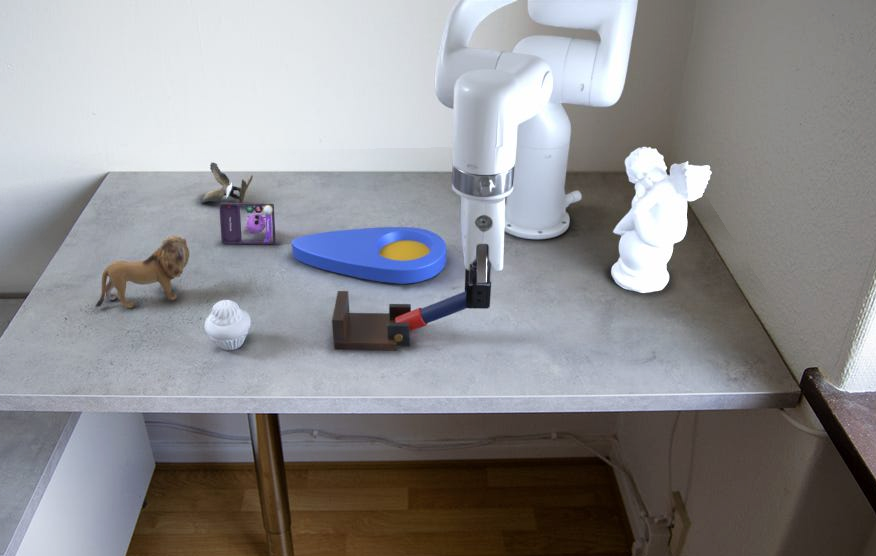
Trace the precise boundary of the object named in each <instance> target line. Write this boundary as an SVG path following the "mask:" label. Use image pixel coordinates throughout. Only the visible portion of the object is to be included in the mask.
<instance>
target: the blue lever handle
mask: <svg viewBox="0 0 876 556" xmlns="http://www.w3.org/2000/svg"><path fill="white" fill-rule="evenodd" d="M463 310H467V308H466V291H465V290H464V291H462V292H460V293H457V294H454V295H452V296H450V297H447V298H445V299H442V300H440V301H437V302H434V303H432V304H430V305H426V306H424V307H418V308H416V309H413V310H411V311H410V312H408V313H405V314H402V315H400V316H397V317H396V318H395V321H396V323H410V332H413V331H416V330H418V329H421V328H423V327H425V326H427V325H428V324H429V323H432V322H434V321H438V320H440V319H442V318H445V317H448V316H450V315H453V314H456V313H458V312H461V311H463Z"/></svg>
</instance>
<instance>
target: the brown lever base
mask: <svg viewBox="0 0 876 556" xmlns="http://www.w3.org/2000/svg"><path fill="white" fill-rule="evenodd" d="M349 296H350V295H349V291H348V290H337V292H336V297H335V302H334V307H333V311H332V312H333V313H332V317H331V325H332V326H331V327H332V338H333V348H334V350H343V351H345V350H346V351H352V350H353V351H397V347H411V346H410V345H411V331H410V323H396V321H395V318H396V317H397V316H400V315H402V314H405V313H408V312H410V311H412V304H411V303H389V304H388V313H387V312H386V313H385V312H350V297H349Z"/></svg>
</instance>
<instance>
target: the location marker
mask: <svg viewBox="0 0 876 556" xmlns="http://www.w3.org/2000/svg"><path fill="white" fill-rule="evenodd" d="M291 248H292V255H293V258H294V259H296V260H297V261H298V262H301V263H302V264H305V265H307V266H310V267H313V268H317V269H319V270H320V269H321V270H324V271H327V272H331V273H336V274H340V275H345V276H349V277H353V278H358V279H362V280H368V281H373V282H374V281H375V282H379V283H380V282H381V283H388V284H397V285H398V284H400V285H401V284H402V285H403V284H416V283H420V282H423V281H427V280H429V279H432V278H434V277H435V276H437V275H438V274H440V273H441V272H442V271H443V270H444V268H445V266H446V264H447V244H446V241H445V240H444V239H443V238H442V237H441V235H439V234H437V233H436V232H433V231H431V230H428V229H425V228H420V227H414V226H412V227H411V226H384V227H383V226H382V227H381V226H380V227H366V228H365V227H364V228H354V229H344V230H343V229H341V230H331V231H323V232H318V233H317V232H316V233H311V234H306V235H301V236H299V237H296V238H293V240H292V241H291Z"/></svg>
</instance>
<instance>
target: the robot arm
mask: <svg viewBox="0 0 876 556" xmlns="http://www.w3.org/2000/svg"><path fill="white" fill-rule="evenodd" d="M517 1H519V0H456V1H455V3H454V4H453V6H452V7H451V9H450V11H449V13H448V15H447V17H446V19H445V23H444V26H443V30H442V35H441V40H440V44H439V48H438V54H437V58H436V62H435V68H434V69H435V71H434V80H433V81H434V86H433V87H434V92H435V95H436V97H437V100H438V101H439V102H440V104H442V105H443V106H444V107H446V108H449V109H452V111H453V112H452V113H453V114H452V153H451V155H452V156H451V157H452V159H451V161H452V163H451V164H452V165H451V189H452V192H454V193H455V194H457V196H459V197H460V233H461V234H460V235H461V244H462V252H463V253H462V254H463V262H464V268H465V269H464V270H465V271H464V292H465V291H466V309H478V310H479V309H483V310H484V309H485V310H486V309H490V307H491V296H492V295H491V294H492V281H491V274H492V272H491V271H492V270H493V271H495V272H496V271H498V272H501V271H502V270H503V269H504V249H505V233H506V234H509V235H511V236H514V237H516V238H521V239H526V240H546V239H547V240H548V239H552V238H555V237H558V236H561V235H562V234H564V233H565V232H567V230H568V229H569V226H570V222H571V221H570V219H571V218H570V215H569V213H568V212H567V210H566V209H567V208H568V207H569V206H570V204H574V203H577V202H579V201H581V200H582V197H583V196H582V193H581V191H580V190H577V189H576V190H574V191H571V192H568V193H566V190H565V186H566V178H567V169H568V162H569V152H570V143H571V134H572V127H571V121H570V118H569V115H568V113H567V111H566V109H565V108H564V106H563V105H562V104H567V105H568V104H569V105H576V106H577V105H578V106H586V107H594V108H608V107H612V106H613V105H615V104H616V103H617V102H618V101H619V100H620V98H621V96H622V94H623V91H624V87H625V83H626V78H627V72H628V66H629V61H630V54H631V49H632V48H631V47H632V42H633V41H632V40H633V36H634V29H635V24H636V23H635V22H636V19H637V18H636V17H637V10H638V3H639V0H527V13H528V15H529V17H530V18H531V20H532V21H534V22H535V23H537V24H540V25H544V26H548V27H549V26H550V27H558V28H566V29H576V30H587V31H593V32H596V33H597V34H598V35H599V38H600V40H596V39H595V40H594V39H587V38H585V39H584V38H576V37H571V36H560V35H547V34H538V35H537V34H536V35H529V36H527V37H525V38H522V39H521V40H520V41H518V42H517V43H516V45H515V46H514V48H513V49H512V51H511V52H510V51H505V50H497V49H488V48H487V49H486V48H476V47H469V43H470V40H471V37H472V36H473V34H474V32H475V30H476V28H477V27H478V25H480V23H481V22H482V21H483V20H484V19H486V18H487V17H488V16H489V15H490V14H492V13H494V12H495V11H497V10H499V9H501V8H503V7H505V6H507V5H510V4H513V3H515V2H517Z"/></svg>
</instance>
